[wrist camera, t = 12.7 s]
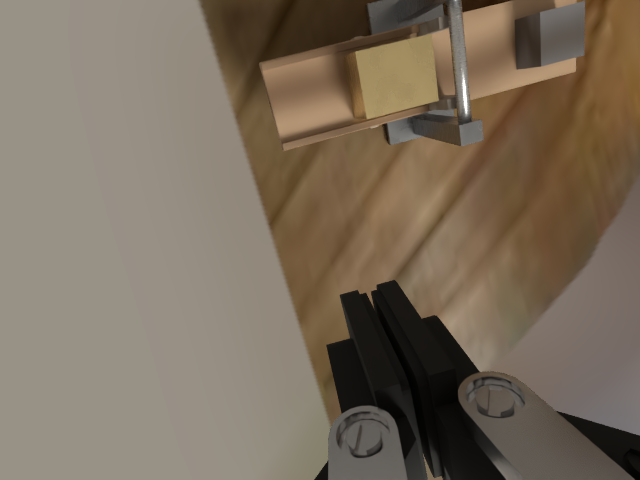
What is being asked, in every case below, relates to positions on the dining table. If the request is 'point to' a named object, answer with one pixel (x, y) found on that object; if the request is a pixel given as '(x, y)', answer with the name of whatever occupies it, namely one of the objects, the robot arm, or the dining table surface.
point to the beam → (482, 64)
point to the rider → (391, 77)
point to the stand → (425, 5)
